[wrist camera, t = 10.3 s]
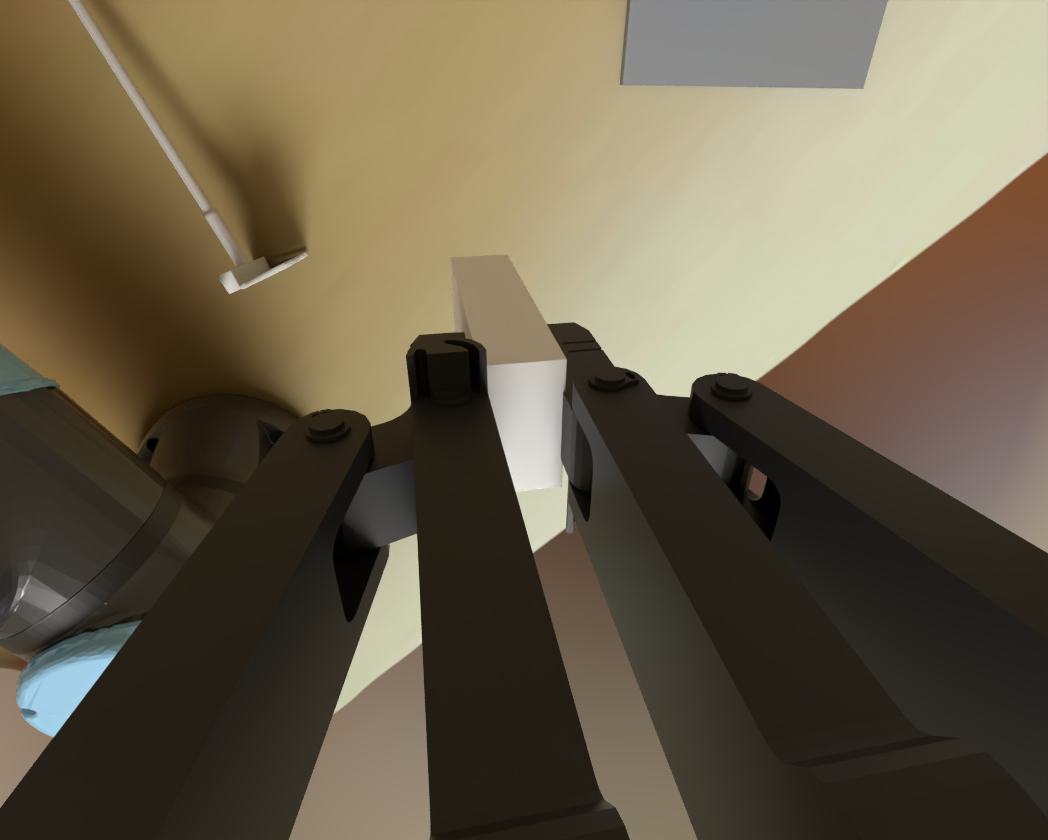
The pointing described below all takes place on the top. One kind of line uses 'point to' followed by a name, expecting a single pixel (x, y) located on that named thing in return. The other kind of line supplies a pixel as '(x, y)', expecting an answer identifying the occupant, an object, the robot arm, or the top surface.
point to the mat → (750, 42)
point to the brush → (185, 172)
